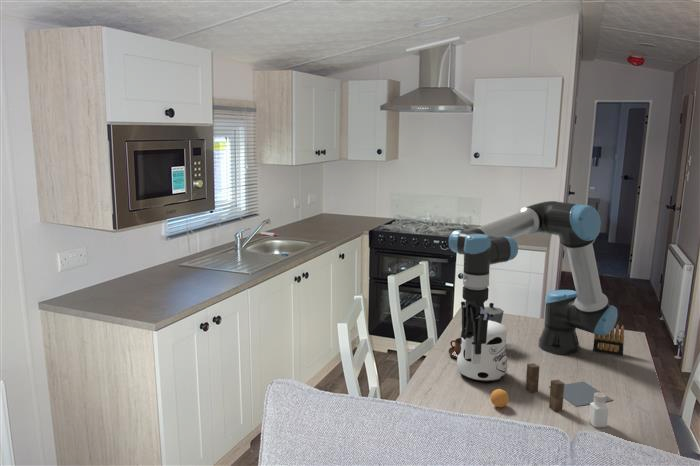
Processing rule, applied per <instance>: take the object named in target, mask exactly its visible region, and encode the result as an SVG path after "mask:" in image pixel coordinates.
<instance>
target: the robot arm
mask: <svg viewBox="0 0 700 466" xmlns="http://www.w3.org/2000/svg"><path fill="white" fill-rule="evenodd" d="M601 226H602V220H601V216H600V214H599V212H598V210H597V209H596V208H595V207H593V206H591V205H587V204H584V203H569V202H562V201H556V200H550V201H549V200H548V201H542V202H538V203H534V204H532V205H528V206H525V207H522V208H520V209H519V210H518V211H517V213H514V214H511V215H509V216H506V217H503V218H499V219H498V220H495V221H492V222H490V223H487V224H483V225H481V226H478V227H475V228H472V229H469V230H463V229H461V230H460V229H456V230H454V231H453V232H451V234H450V235H449V236H448V237H449V238H448V248H449V250H450V251H451V252H454V253H457V254H458V255H463V272H462V273H463V274H462V275H463V276H462V285H463V287H462V299H463V300H464V301H460V305H461V327H462V333H464V335H465V337H466V343H465V359H470V358H471V363H472V364H479V363H481V345H482V344H486V339H487V327H488V319H489V316H490V315H489V313H485V311H484V309H485V308H484V307H485V302H487V301H488V300H489V292H490V291H489V288H488V287H489V286H490V269H491V268H490V265H496V264H499V263H500V264H501V263H507V262H509V261H512V260H514V259H515V258H516V257H517V255H518V253H519V245H518V242H517V241H516V240H515V239H514V238H517V237H519V236H521V235H525V234H526V235H532V234H535V233H543V234H544V233H545V234H548V235H549V234H551V235H553V236H558V238H559V242H560V244H561V246H562V247H564V248H566V252H567V256H568V261H569V265H570V270H571V275H572V278H573V284H574V287H575V290H572V289H556V290H551V291H550V292H547V294H546V298H545V310H544V311H545V312H544V326H543V329H542V332H541V335H540V336H539V339H538V347H539V348H540V349H542V350H543V351H545V352H548V353H552V354H557V355H573V354H576V353H578V352H579V351H580V342H579V339H578V336H577V330H576V329H579V330H582V331H584V332H587V333H591V334H593V335H595V334H598V335H602V336H605V335H607V334H609V335H610V332H611V330H612V329H613V327H614V328H615V326H616V323H617V319H618V308H617V307H616V306H614V305H610V304H609V303H610V302H609V299H608V297H607V295H606V294H604V293H603V290H602V287H601V282H600V281H601V280H600V276H599V271H598V266H597V260H596V255H595V250H594V246H593V244H594V242H595V241H596V239H597V238H598V236H599V234H600V231H601ZM472 336H474V337H472Z"/></svg>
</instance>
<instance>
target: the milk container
mask: <svg viewBox="0 0 700 466" xmlns="http://www.w3.org/2000/svg"><path fill="white" fill-rule="evenodd" d="M472 337H474V336H472ZM460 338H461V345H460V351H459V354H458V357H457V358H456V364H457V370H458V372H459V373H460V374H461V375H462V376H464V377H466V378H467V379H469V380H473V381H476V382H481V383H482V382H484V383H485V382H495V381H499V380H501V379H503V378H504V376H505V375H506V374H507V370H508V357H507V353H506V349H507V348H506V347H507V329H506V326H505V325H503V323H501V324H500V323H498V322H494V321H490V320H488V327H487V339H486V344H482V345H481V363H479V364H472V363H471V358H470V359H465V343H466V337H465V335H464V333H462V326H461V327H460Z"/></svg>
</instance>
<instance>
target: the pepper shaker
mask: <svg viewBox="0 0 700 466" xmlns="http://www.w3.org/2000/svg"><path fill="white" fill-rule="evenodd" d="M606 396H607V395H606V394H605V393H603V392H601V393H599V392H597V393H594V402H592V403H590V404H589V412H588V413H589V414H588V416H589V417H588V422H589V423H590V424H591V425H592V427H594V428H607V426H608V415H609V407H608V406H607V405H606Z"/></svg>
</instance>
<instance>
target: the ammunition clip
mask: <svg viewBox="0 0 700 466" xmlns="http://www.w3.org/2000/svg"><path fill="white" fill-rule="evenodd" d="M593 335H594V336H593V337H594V338H593V347H592V352H595V353H602V354H607V355H615V356H624V345H625V343H624V342H625V326H624V325H623V324H622V326H621V327H620V325H619V324H617V325H616V327H615V326H614V327H613V329H612V330H611V332H610V333H609V334H607V335H604V336H602V335H598V334H593Z"/></svg>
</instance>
